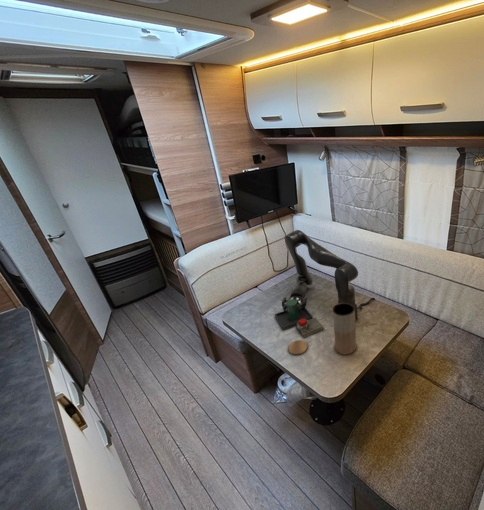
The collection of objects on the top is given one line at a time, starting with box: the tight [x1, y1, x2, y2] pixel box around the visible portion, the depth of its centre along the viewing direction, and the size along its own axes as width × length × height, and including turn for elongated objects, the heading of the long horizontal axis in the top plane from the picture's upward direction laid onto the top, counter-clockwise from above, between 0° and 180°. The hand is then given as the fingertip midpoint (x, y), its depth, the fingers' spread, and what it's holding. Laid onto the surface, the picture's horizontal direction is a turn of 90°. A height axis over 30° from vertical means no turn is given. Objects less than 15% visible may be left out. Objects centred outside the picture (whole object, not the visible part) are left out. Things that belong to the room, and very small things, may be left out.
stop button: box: [299, 319, 306, 325], centre depth 148 cm, size 4×4×2 cm
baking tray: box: [274, 307, 313, 331], centre depth 159 cm, size 17×14×2 cm
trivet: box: [288, 340, 308, 356], centre depth 137 cm, size 9×9×1 cm
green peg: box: [286, 299, 299, 320], centre depth 157 cm, size 6×6×10 cm
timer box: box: [296, 317, 324, 338], centre depth 149 cm, size 12×10×4 cm
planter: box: [332, 303, 357, 355], centre depth 131 cm, size 10×10×23 cm
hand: (291, 309), depth 154 cm, fingers open, 7 cm apart
